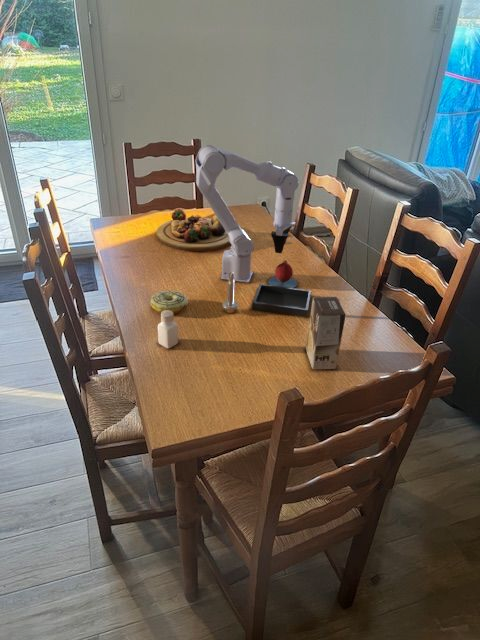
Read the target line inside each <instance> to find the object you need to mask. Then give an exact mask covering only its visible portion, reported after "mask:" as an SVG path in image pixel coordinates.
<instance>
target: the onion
mask: <svg viewBox="0 0 480 640" xmlns="http://www.w3.org/2000/svg"><path fill="white" fill-rule="evenodd" d="M274 271H275V272H274V276H276V277H277V279H278V280H279V281H281V282H283V283H284V282H286V281H288V280H289V279H290V278H292V277H293V274H294V271H293V267H292V265H291V264H290V263H288V260H287V259H284V260H283V261H282V262H281V263H279V264H278V265H277V266H276V268H275V270H274Z"/></svg>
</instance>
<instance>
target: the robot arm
mask: <svg viewBox="0 0 480 640" xmlns="http://www.w3.org/2000/svg"><path fill="white" fill-rule="evenodd" d="M231 168H235V169H238V170H241V171H244V172H246V173H250V174H253V175H254V176H255V178H256V180H257V181H259V182H261V183H264V184H268V185H270V186H273V187H276V194H275V204H274V205H275V207H274V220H273V222H272V223H273V224H272V225H273V227H274V228H275V231H274V230H272V231H271V232H270V236H271V238H272V241H273V246H274V252H275V253H276V254H283V250H284V247H285V245H286V242H287V241H288V238H289V236H290V234H289V232H290V230H291V229H292V228H293V227H295V226H296V222H294V221H293V213H294V201H295V192H296V191H297V189H298V187H299V185H300V182H299V179H298V177H297V175H296V174H294V173H293V172H292V171H290V170H288V169H287V168H286V167H283V166H282V167H280V166H277V165H274V163H273V162H272V161H270V160H267V161H261V162H259V163H258V162H255V161H253V160H250V159H249V158H246V157H244V156H242V155H239V154H238V153H235V152H233V151H230V150H227V149H225V148H222V147H215V146H213V145H212V144H211V145H210V144H205V145H203V146H201V148H199V150H198V152H197V155H196V158H195V169H196V170H195V173H196V174H195V178H196V179H195V184H196V187H197V189H198V190H199V191H200V193H201V195H202V196H203V198H204V199H205V200H206V202H207V203H208V205H209V208H210V209H211V210H212V212H213V213H214V215H216V216H217V218H218V219H219V221H220V222H221V224H222V226H223V227H224V229H225V230H226V232H227V234H228V236H229V242H230V244H229V245H231V246H230V248H229V249H225V250H224V251H223V254H222V260H221V277H220V278H221V280H226V281H228V280H229V273H230V272H233V273H234V278H233V279H234V282H240V283H247V284H249V283H250V281H251V279H252V276H253V274H254V271H252V270H251V269H252V268H251V267H252V254H253V251H254V250H255V243H254V242H253V240H252V239H251V238H250V236H248V234H247V232H246V230H244V229H243V228H241V226H240V225H239V223H238V222H237V220H236V218H235V217H234V215H233V213H232V212H231V210H230V208H229V207H228V205H227V203H226V202H225V201H224V198H223V197H222V196H221V193H220V192H219V191H218V189H217V187H216V185H215V184H216V181H217V178H218V177H219V176H220V174H221V173H222V172H223V170H225V171H228V170H230V169H231Z"/></svg>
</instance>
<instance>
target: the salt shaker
mask: <svg viewBox="0 0 480 640" xmlns="http://www.w3.org/2000/svg"><path fill="white" fill-rule="evenodd" d="M160 321H161V322H159V323H158V324H157V340H158V344H159V345H161V346H162V347H163V348H166V349H170V348H172V347H174V346H176V345H178V343H179V328H178V327H179V326H178V324H177V323H176V321H174V314H173V312H172V311H170V310H165V311H162V312H161V313H160Z"/></svg>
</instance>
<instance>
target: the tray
mask: <svg viewBox="0 0 480 640" xmlns="http://www.w3.org/2000/svg"><path fill="white" fill-rule="evenodd" d="M311 295H312V290H309V289H301V288H287V287H280V286H272V285H269V284H265V283H259V284H258V287H257V290H256V292H255V295H254V298H253V300H252V307H251V310H255V311H261V312H267V313H274V314H281V315H288V316H295V317H303V318H308V313H309V307H310V302H311Z"/></svg>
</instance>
